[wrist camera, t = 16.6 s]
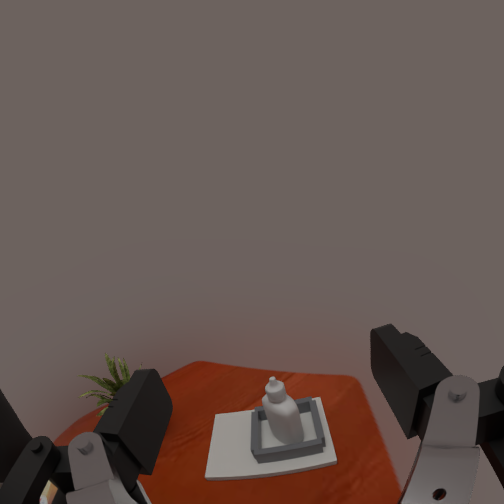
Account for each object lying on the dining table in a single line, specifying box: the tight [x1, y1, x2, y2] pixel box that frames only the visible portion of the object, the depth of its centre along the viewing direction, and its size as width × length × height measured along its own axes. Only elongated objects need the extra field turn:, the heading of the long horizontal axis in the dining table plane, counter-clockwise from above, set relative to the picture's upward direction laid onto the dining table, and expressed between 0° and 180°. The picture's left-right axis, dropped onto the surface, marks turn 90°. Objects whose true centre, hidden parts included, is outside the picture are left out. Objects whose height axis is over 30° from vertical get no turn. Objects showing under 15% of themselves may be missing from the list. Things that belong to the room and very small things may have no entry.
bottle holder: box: [205, 397, 337, 480], centre depth 34 cm, size 18×14×4 cm
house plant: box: [79, 354, 141, 416], centre depth 38 cm, size 14×14×16 cm
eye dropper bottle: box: [262, 377, 304, 445], centre depth 33 cm, size 4×6×12 cm
